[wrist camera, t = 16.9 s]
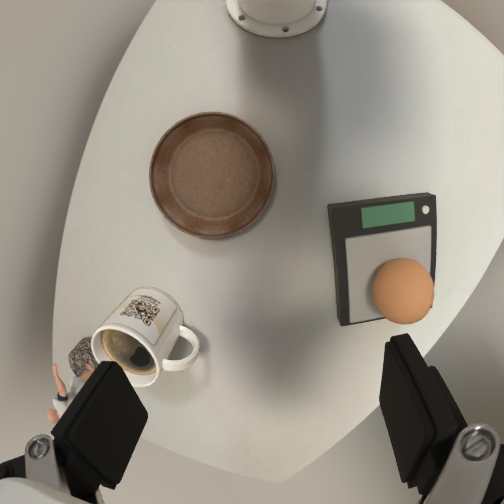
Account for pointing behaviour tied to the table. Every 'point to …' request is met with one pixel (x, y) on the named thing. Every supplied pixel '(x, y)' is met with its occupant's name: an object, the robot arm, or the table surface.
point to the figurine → (73, 377)
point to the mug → (143, 336)
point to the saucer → (211, 175)
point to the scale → (378, 246)
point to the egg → (403, 291)
